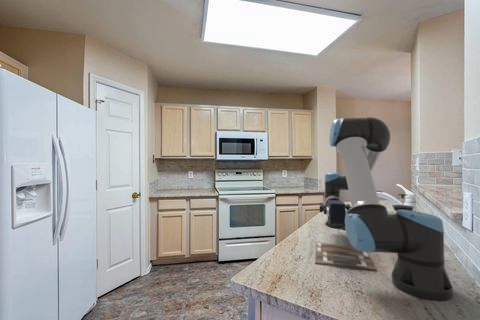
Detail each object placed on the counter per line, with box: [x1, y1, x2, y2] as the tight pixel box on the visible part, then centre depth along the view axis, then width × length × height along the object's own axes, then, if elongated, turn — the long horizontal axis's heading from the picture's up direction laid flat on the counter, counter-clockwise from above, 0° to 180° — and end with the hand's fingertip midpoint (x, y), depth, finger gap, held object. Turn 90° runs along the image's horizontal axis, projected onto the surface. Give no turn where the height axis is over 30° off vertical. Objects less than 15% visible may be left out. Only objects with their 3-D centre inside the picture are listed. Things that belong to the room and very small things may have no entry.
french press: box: [392, 193, 415, 215], centre depth 118 cm, size 12×9×23 cm
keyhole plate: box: [314, 242, 377, 272], centre depth 100 cm, size 24×21×4 cm
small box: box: [327, 200, 346, 229], centre depth 104 cm, size 11×6×10 cm, turn 165°
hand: (337, 213), depth 99 cm, fingers closed on small box, 6 cm apart
